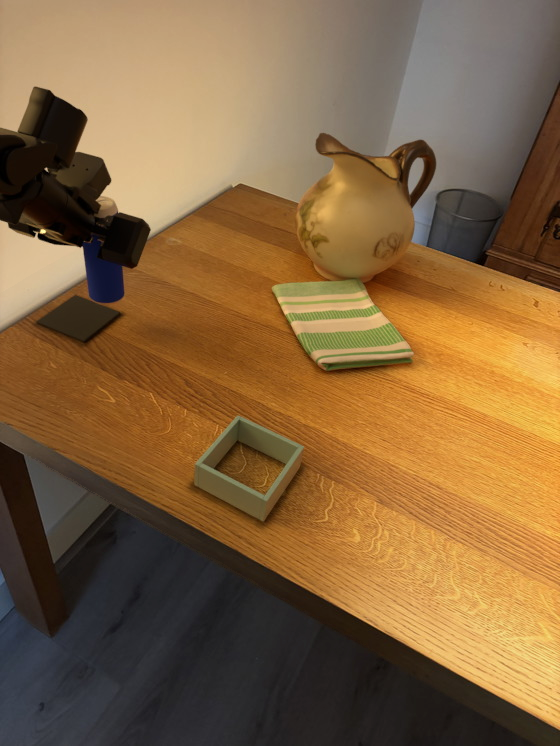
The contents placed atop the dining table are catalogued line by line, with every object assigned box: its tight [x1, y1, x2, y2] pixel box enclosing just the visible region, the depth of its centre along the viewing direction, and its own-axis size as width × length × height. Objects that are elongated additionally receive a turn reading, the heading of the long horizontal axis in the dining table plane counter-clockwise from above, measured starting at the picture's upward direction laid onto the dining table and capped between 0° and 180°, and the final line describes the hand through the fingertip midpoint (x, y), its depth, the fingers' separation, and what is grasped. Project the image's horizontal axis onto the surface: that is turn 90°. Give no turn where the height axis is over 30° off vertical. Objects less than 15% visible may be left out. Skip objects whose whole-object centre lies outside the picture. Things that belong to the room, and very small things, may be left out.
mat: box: [36, 294, 121, 343], centre depth 87 cm, size 9×9×1 cm
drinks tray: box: [193, 414, 305, 523], centre depth 66 cm, size 10×10×4 cm
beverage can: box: [82, 195, 125, 306], centre depth 78 cm, size 5×5×15 cm
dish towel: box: [271, 278, 415, 372], centre depth 93 cm, size 18×23×3 cm
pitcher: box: [294, 132, 437, 284], centre depth 102 cm, size 22×24×25 cm
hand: (108, 248), depth 79 cm, fingers closed on beverage can, 5 cm apart
